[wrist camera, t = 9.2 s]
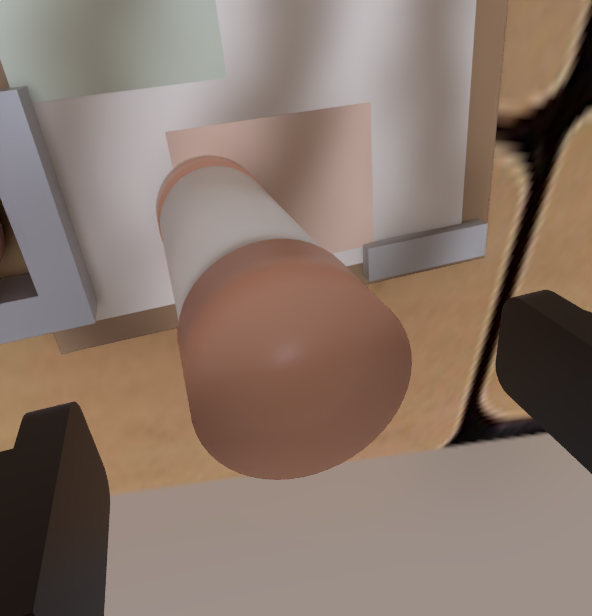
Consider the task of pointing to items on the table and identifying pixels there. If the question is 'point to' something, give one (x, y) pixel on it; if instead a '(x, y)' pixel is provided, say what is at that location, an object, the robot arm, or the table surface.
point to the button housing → (38, 232)
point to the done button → (1, 242)
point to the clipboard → (263, 127)
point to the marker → (273, 329)
